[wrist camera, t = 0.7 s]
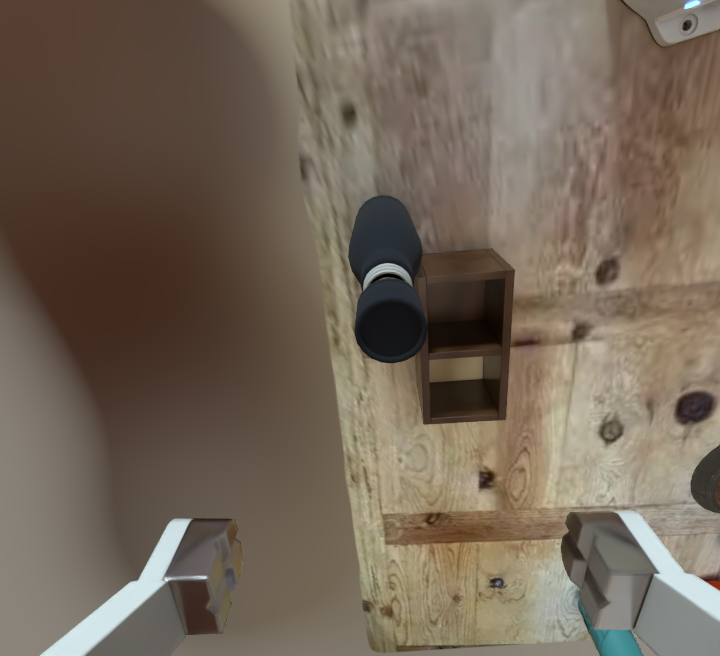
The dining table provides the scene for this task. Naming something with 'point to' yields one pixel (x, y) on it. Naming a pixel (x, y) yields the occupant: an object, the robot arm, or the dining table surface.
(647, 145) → the dining table surface
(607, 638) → the beverage bottle
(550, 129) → the dining table surface
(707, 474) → the tankard
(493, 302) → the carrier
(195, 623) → the robot arm
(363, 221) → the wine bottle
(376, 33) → the dining table surface
